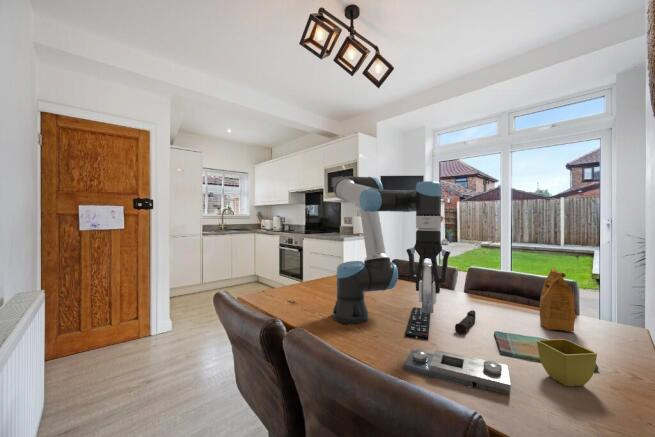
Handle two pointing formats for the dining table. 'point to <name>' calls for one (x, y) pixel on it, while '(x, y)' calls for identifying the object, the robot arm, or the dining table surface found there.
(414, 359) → the lower chain end
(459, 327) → the hand tool
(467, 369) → the grey block with knob
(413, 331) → the remote control
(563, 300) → the coffee package
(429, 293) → the steel pin
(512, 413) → the dining table surface
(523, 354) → the dish towel
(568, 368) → the flower pot
